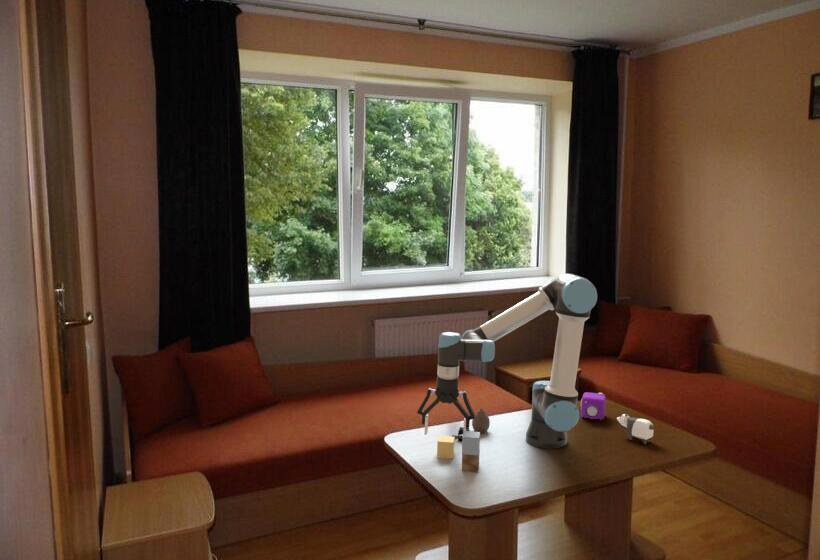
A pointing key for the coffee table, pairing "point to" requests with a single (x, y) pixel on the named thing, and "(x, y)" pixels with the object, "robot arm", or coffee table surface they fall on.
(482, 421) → the vase
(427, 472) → the coffee table surface
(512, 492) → the coffee table surface
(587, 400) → the toy camera
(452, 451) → the yellow cube
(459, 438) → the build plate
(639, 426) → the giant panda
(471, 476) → the coffee table surface
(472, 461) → the walnut brick
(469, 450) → the gray brick
